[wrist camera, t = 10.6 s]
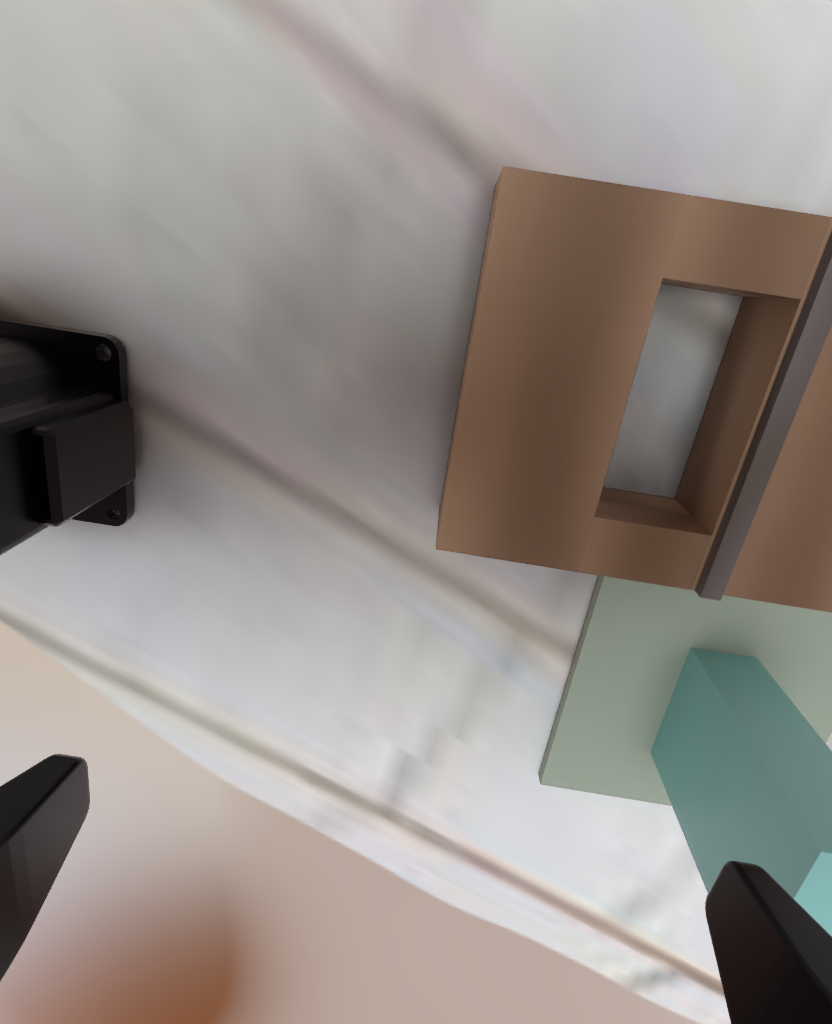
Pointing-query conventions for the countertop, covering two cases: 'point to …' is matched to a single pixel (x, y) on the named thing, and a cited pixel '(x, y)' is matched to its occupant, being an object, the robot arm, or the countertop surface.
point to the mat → (669, 677)
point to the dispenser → (608, 380)
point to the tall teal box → (748, 777)
